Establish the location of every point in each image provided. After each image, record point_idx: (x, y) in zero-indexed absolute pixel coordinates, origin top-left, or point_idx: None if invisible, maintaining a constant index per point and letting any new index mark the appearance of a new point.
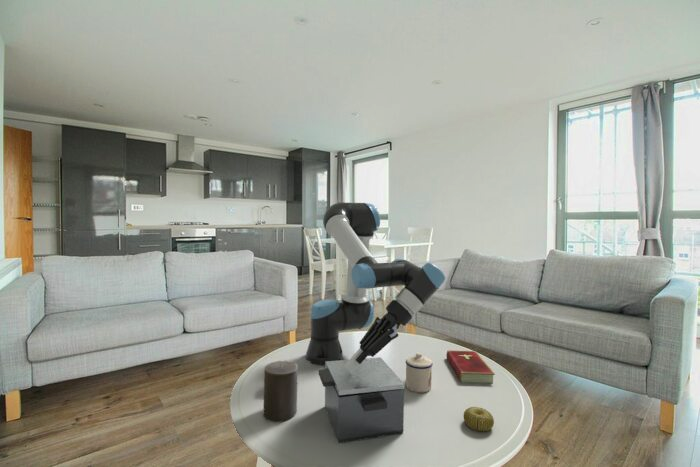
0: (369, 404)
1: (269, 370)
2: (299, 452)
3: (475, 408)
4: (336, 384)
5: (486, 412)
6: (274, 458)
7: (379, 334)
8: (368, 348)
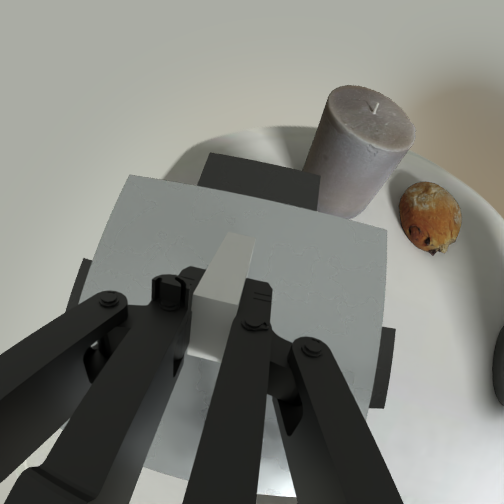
0: (78, 273)
1: (356, 89)
2: (188, 178)
3: None
4: (170, 181)
5: None
6: (197, 144)
7: (49, 461)
8: (105, 307)
